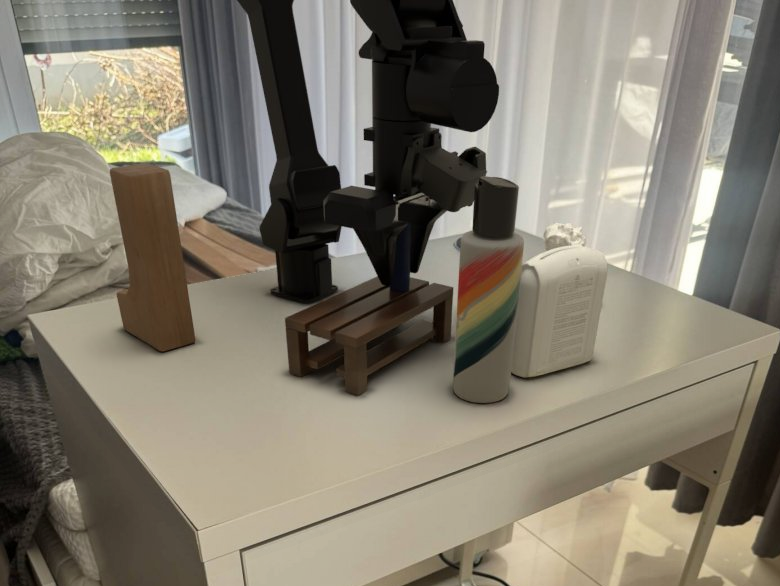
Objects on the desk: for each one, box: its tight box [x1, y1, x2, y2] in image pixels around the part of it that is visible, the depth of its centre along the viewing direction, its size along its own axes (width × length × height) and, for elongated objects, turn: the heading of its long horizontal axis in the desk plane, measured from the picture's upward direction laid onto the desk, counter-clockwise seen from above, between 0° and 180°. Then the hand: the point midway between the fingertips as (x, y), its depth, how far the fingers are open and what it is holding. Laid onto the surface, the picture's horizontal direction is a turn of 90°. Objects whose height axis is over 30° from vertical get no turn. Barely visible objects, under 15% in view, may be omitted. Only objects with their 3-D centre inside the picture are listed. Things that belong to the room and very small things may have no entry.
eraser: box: [390, 222, 411, 292], centre depth 83 cm, size 2×2×7 cm
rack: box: [284, 275, 454, 396], centre depth 83 cm, size 9×18×6 cm, turn 146°
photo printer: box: [511, 245, 609, 378], centre depth 80 cm, size 10×4×12 cm, turn 123°
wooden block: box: [109, 162, 197, 353], centre depth 83 cm, size 9×4×18 cm, turn 43°
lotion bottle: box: [452, 175, 525, 404], centre depth 72 cm, size 6×6×20 cm
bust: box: [542, 221, 587, 252], centre depth 94 cm, size 12×8×11 cm
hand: (399, 278), depth 84 cm, fingers open, 5 cm apart
